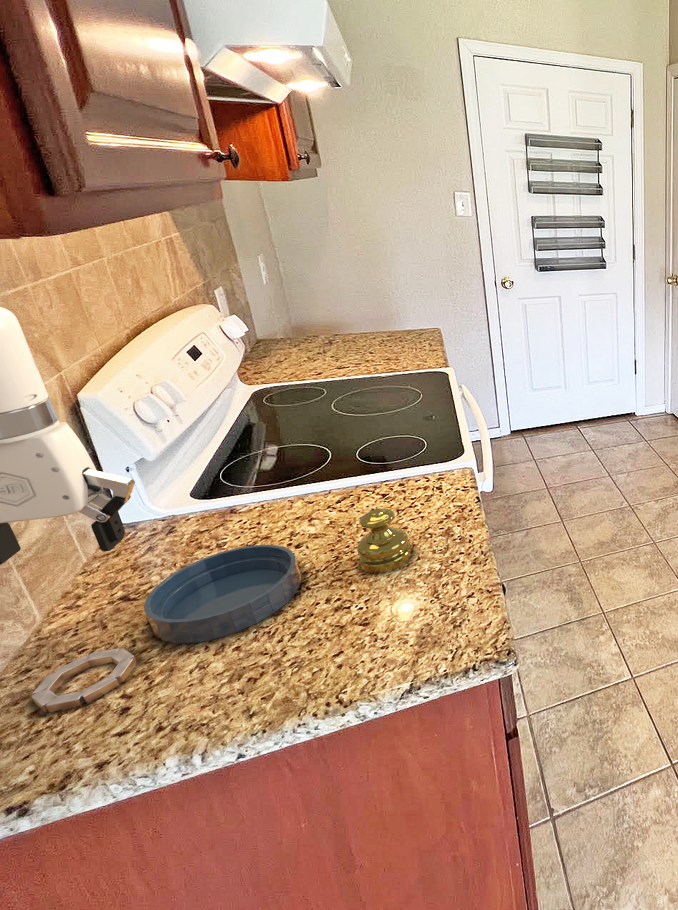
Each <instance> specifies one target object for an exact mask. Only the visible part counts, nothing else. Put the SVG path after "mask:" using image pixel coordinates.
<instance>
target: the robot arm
mask: <svg viewBox="0 0 678 910" xmlns="http://www.w3.org/2000/svg"><path fill="white" fill-rule="evenodd" d="M29 346H30V345H29V344H28V341H27V339H26V337H25V333H24V332H23V329H22V326H21V323H20V322H19V320H18V318H17V316H16V315H15V314H14V313H13V312H12V311H11V310H9V309H8V308H5V307H2V306H0V566H1V565H4V563H6V562H7V561H8V560H10V559H11V558H13V556H15V555H16V554H18V552H20V551H21V548H22V547H21V546H20V545H21V544H20V543H19V541H18V539H17V537H16V535H15V533H14V531H13V528H12V527H11V524H10V523H17V522H25V521H34V520H43V519H52V518H60V517H61V518H62V517H68V516H71V515H74V514H77V513H80V514H81V515H84V516H86V517H88V518H89V519H92V520H93V522H92V523H91V526H90V528H91V530H92V532H93V535H94V536H95V540H96V542H97V544H98V547H99V550H100V551H101V552H104V553H105V552H111V551H112V550H113V549H114V548H115V547H116V546H117V545H119V543H120V542H121V541H122V540H124V537H125V528H124V526H123V523H122V520H121V519H120V515H119V513H118V512H119V511H120V510H121V509H122V507H124V505H125V504H126V503H127V502H129V500H131V494H132V493H133V490H134V487H135V484H136V480H135V479H133V478H131V477H126V476H122V475H118V474H114V473H109V472H105V471H100V470H97V468H96V466H95V464H94V462H93V460H92V458H91V456H90V455H89V452H88V451H87V449H86V447H85V445H84V444H83V442H81V439H80V438H79V437H78V436H77V434H76V433H75V431H74V430H73V429H72V428H71V427H70V425H69V424H68V423H67V422H66V421H60V420H59V418H58V415H57V413H56V410H55V407H54V405H53V403H52V400H51V398H50V395H49V393H48V391H47V388H46V386H45V383H44V380H43V379H42V378H43V377H42V376H41V373H40V371H39V369H38V366H37V364H36V361H35V359H34V356H33V353H32V352H31V349H30V347H29ZM104 489H108V490H111V491H112V497H110V496H107V495H105V494H103V492H104Z"/></svg>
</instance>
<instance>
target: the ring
mask: <svg viewBox="0 0 678 910" xmlns="http://www.w3.org/2000/svg"><path fill="white" fill-rule="evenodd" d="M111 663H113V664H115V665H116V666H115V667H114V668H113V670H112V671H111V672H110V673H109V675H108V676H106V677H104V678H102V679H101V680H99V681H97V682H96V683H94V684H92V685H90V686H88V687H86V688H85V689H83V690H80V691H73V692H69V693H65V694H59V695H57V694H56V693H55V692H56V691H57V690H58V688H60V686H61V685H62V684H63V683H64V682H65V681H66V680H68V679H69V678H72V677H73V676H75V675H77V674H79V673H80V672H83V671H85V670H87V669H88V668H91V667H95V666H101V665H106V664H111ZM137 663H138V661H137V658H136V656H135V655H133V653H131V652H130V651H128V650H126V648H124V647H122V648H120V647H116V648H112V649H106V650H101V651H96V652H95V651H94V652H91V653H90V654H89V655H87V654H84V655H83V656H81V657H79V658H77V659H75V660H72V661H70V662H69V663H67V664H65V665H63V666H61V667H59V668H57V669H55V670H53V673H49V674H48V675H47V676H46V677H45V678H44V680H42V682H41V683H39V685H38V686H37V687H36V688H35V689H34V691H33V692H31V699H32V701H33V702H34V704H36V705H37V706H38V707H39V708H40V709H41V710H42V711H43V712H45V713H46V712H48V713H53V712H57V711H62V710H67V709H72V708H77V707H81V706H83V705H84V703H85V704H89V703H90V702H93V701H94V700H96V699H97V698H100V697H102V696H103V695H105V694H106V693H109V692H110V691H112V690H114V689H115V688H117V687H119V686H120V684H121V683H122V684H123V683H124V682H125V681H126V679H127V678H128V677H129V676H130V674H131V673H132V671H134V668H136V666H137Z"/></svg>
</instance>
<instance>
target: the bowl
mask: <svg viewBox="0 0 678 910" xmlns="http://www.w3.org/2000/svg"><path fill="white" fill-rule="evenodd" d="M301 584H302V574H301V570H300V566H299V563H298V560H297V557H296V555H295V554H294V553H293V551H292V550H291V549H289V548H288V547H286V546H285V547H284V546H282V545H275V544H254V545H247V546H241V547H235V548H231V549H228V550H223V551H220V552H217V553H214V554H211V555H210V556H206V557H203V558H201V559H198V560H197V561H194V562H192V563H190V564H188V565H185V566H184V567H182V568H181V569H179V570H176V571H175V572H174V573H172V574H170V575H169V576H167V577H166V578H165V579H163V580H162V581H161V582H160V583H158V584H157V585H156V586H155V587H154V588H153V589H152V591H151V592H150V593H149V594H148V595H147V596H146V598H145V602H144V605H143V610H144V612H145V615H146V618H147V620H148V622H149V625H150V627H151V630H152V632H153V634H154V636H155V637H157V638H159V639H160V640H162V641H163V642H167V643H171V644H173V643H174V644H177V645H178V644H180V645H181V644H196V643H202V642H206V641H212V640H217V639H220V638H223V637H227V636H229V635H233V634H235V633H238V632H240V631H242V630H244V629H247V628H249V627H252V626H254V625H256V624H258V623H260V622H261V621H263V620H266V618H268V617H270V616H271V615H273V614H275V613H276V612H277V611H278V610H280V609H281V608H282V607H284V606H285V605H286V604H287V603H289V601H290V600H291V599H292V598H293V597H294V596H295V595H296V594H297V592H298V590H299V588H300V586H301Z"/></svg>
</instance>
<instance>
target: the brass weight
mask: <svg viewBox="0 0 678 910" xmlns="http://www.w3.org/2000/svg"><path fill="white" fill-rule="evenodd" d="M395 516H396V514H395V512H394V510H392V509H390V508H375V509H373V510H370V511H368V512H366V513H364V514H363V515H362V516H361V517H360V519H359V525H360V526H361V527H362V528H364V529H368V530H369V532H367V533H366V535H365V536H364V537H362V538H361V539H360V540H359V542H358V543H357V545H356V552H357V554H358V556H359V558H358V559H359V562H360V567H361V569H362V570H363V571H364V572H367V573H371V574H381V573H382V574H383V573H386V572H390V571H393V570H396V569H397V568H399V567H401V566H403V565H404V564H406V563H407V561H408V560H409V559H410V558H411V553H412V552H411V545H410V543H409V535H408V533H407V532H406V531H405V530H404V529H401V528H398V527H394V526H390V524H391V522H392V521H394V519H395Z"/></svg>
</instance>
